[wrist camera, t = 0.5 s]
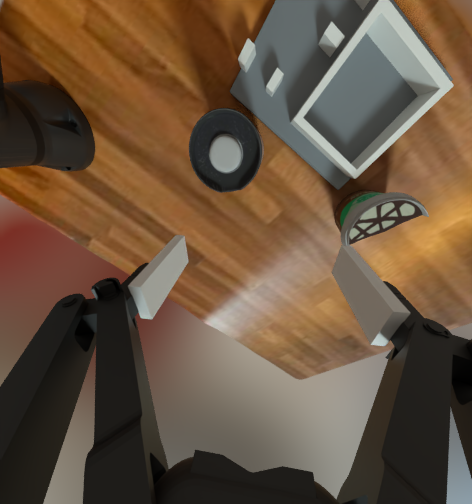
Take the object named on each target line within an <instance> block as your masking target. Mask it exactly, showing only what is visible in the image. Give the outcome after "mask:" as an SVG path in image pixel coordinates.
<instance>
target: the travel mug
mask: <svg viewBox="0 0 472 504" xmlns="http://www.w3.org/2000/svg"><path fill="white" fill-rule="evenodd" d="M263 154H264V145H263V141H262V138H261V135H260V134H259V132H258V130H257V129H256V127H255V126H254V124H253V123H252V122H251V121H250V120H249V119H248V118H247V117H246V116H245V115H244V114H242V113H240V112H239V111H236V110H234V109H229V108H219V109H215V110H212V111H210V112H208V113H206V114H205V115H204V116H202V117H201V119H200V120H199V121H198V122H197V123H196V125H195V127H194V129H193V131H192V134H191V137H190V142H189V156H190V161H191V164H192V167H193V169H194V171H195V173H196V175H197V176H198V178H199V179H200V180H201V181H202V182H203V183H204V184H205V185H206V186H208V187H209V188H211V189H213V190H215V191H217V192H221V193H222V192H231V191H236V190H241V189H243V188H245V187H246V186H247V185H248V184H249V183H250V182H251V181H252V180H253V178H254V177H255V175H256V174H257V172H258V169H259V167H260V164H261V162H262V159H263Z"/></svg>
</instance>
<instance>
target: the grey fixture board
mask: <svg viewBox="0 0 472 504" xmlns="http://www.w3.org/2000/svg"><path fill="white" fill-rule="evenodd" d="M378 1H379V0H370V1H369V3H368V4H367V5H366V7H365V8H364V10H362V9H361V8H360V6H359V5H358V4H357V3H356V1H355V0H276V1H275V3H274V5H273V7H272V9H271V11H270V13H269V15H268V17H267V19H266V21H265V23H264V24H263V26H262V28H261V30H260V32H259V34H258V36H257V38H256V40H255V42H254V44H255V49H256V56H255V58H254V60H253V61H252V63H251V65H250V67H249V69H248V71H247V73H246V72H245V71H244V70H243V69H242V68H241V70H240V72H239V74H238V76H237V78H236V80H235V82H234V84H233V86H232V88H231V90H230V93H231V94H232V95H233V96H234V97H235V98H236V99H237V100H239V101H240V102H241V103H242V104H243V105H244V106H245V107H246V108H247V109H248V110H250V111H251V112H252V113H253V114H254V115H255V116H256V117H257V118H258V119H260V120H261V121H262V122H263V123H264V124H265V125H266V126H267V127H268V128H269V129H271V130H272V131H273V132H274V133H275V134H276V135H277V136H278V137H279V138H281V139H282V140H283V141H284V142H285V143H286V144H287V145H288V146H289V147H290V148H292V149H293V150H294V151H295V152H296V153H297V154H298V155H299V156H300V157H302V158H303V159H304V160H305V161H306V162H307V163H308V164H309V165H310V166H311V167H313V168H314V169H315V170H316V171H317V172H318V173H319V174H320V175H321V176H323V177H324V178H325V179H326V180H327V181H328V182H329V183H330V184H331V185H332V186H334V187H335V188H336V189H337V190H339V189H340V188H341V187H342V186H343V185H344V184H345V183H346V182H347V181H348V180H349V179H350V178H351V177H349V176H346V175H345V174H344V173H343V172H342V171H341V170H340V169H339V168H338V167H337V166H336V165H334V164H333V163H332V162H331V161H330V160H329V159H328V158H327V157H326V156H325V155H324V154H323V153H322V152H321V151H320V150H319V149H317V148H316V147H315V146H314V145H313V144H312V143H311V142H310V141H309V140H308V139H307V138H306V137H305V136H304V135H303V134H302V133H300V132H299V131H298V130H297V129H296V128H295V127H294V126H293V125H292V124H291V123H290V122H291V121H292V120H293V118H294V117H295V115H296V114H297V113H298V111H299V110H300V108H301V107H302V106H303V104H304V103H305V101H306V100H307V99H308V97H309V96H310V94H311V93H312V92H313V90H314V89H315V87H316V86H317V85H318V83H319V82H320V80H321V79H322V78H323V76H324V75H325V73H326V72H327V71H328V69H329V68H330V66H331V65H332V64H333V62H334V61H335V59H336V58H337V57H338V55H339V54H340V52H341V51H342V50H343V48H344V47H345V45H346V44H347V43H348V41H349V40H350V38H351V37H352V36H353V34H354V33H355V31H356V30H357V29H358V27H359V26H360V24H361V23H362V22H363V20H364V19H365V17H366V16H367V15H368V13H369V12H370V11H371V10H372V8H373V7H374V6H375V4H376V3H377V2H378ZM389 1H390V2H391V3H392V5H393V6H394V7H395V8H396V10H397V11H398V12H399V14H400V15H401V16H402V18H403V19H404V20H405V22H406V23H407V24H408V26H409V27H410V28H411V30H412V31H413V32H414V34H415V35H416V36H417V38H418V39H419V40H420V41H421V43H422V44H423V45H424V47H425V48H426V49H427V51H428V52H429V53H430V55H431V56H432V57H433V59H434V60H435V61H436V63H437V64H438V65H439V67H440V68H441V69H442V71H443V72H444V73H445V75H446V76H447V77H448V78H449V80H450V81H452V80H453V79H452V77H451V76H450V75H449V73H448V72H447V71H446V69H445V68H444V67H443V65H442V64H441V63H440V61H439V60H438V59H437V57H436V56H435V55H434V53H433V52H432V51H431V49H430V48H429V47H428V45H427V44H426V43H425V41H424V40H423V39H422V37H421V36H420V35H419V33H418V32H417V31H416V29H415V28H414V27H413V25H412V24H411V23H410V22H409V20H408V19H407V18H406V16H405V15H404V14H403V12H402V11H401V10H400V8H399V7H398V6H397V4H396V3H395V2H394V0H389ZM331 22H333V23H334V24H335V26H336V27H337V28H338V29H339V30H340V31H341V33H342V34H343V35H344V36H345V37H344V39H343V40H342V41H341V43H340V44H339V46H338V47H337V49H336V50H335V51H334V53H333V54H332V55H331V57H329V56H328V55H327V54H326V53H325V52H324V51H323V50H322V49H321V47H320V46H319V45H318V44H319V42H320V40H321V38H322V36H323V34H324V32H325V31H326V29H327V28H328V26H329V25H330V23H331ZM277 68H278V69H279V70H280V71H281V72H282V73H283V74H284V75H283V79H282V82H281V83H280V85H279V86H278V88H277V90H276V91H275V93H274V94H273V96H272V97H271V96H270V95H269V94H268V93H267V92H266V86H267V84H268V82H269V81H270V79H271V77H272V76H273V74H274V72H275V71H276V69H277ZM417 96H418V95H417V94H416V93H415V92H414V90H413V89H412V88H411V87H410V85H409V84H408V83H407V82H406V81H405V79H404V78H403V77H402V76H401V75H400V73H399V72H398V71H397V70H396V68H395V67H394V66H393V65H392V64H391V62H390V61H389V60H388V59H387V58H386V56H385V55H384V54H383V53H382V51H381V50H380V49H379V48H378V47H377V45H376V44H375V43H374V42H373V41H372V39H371V38H370V37H369V36H368V34H367V33H365V35H364V36H363V37H362V39H361V40H360V42H359V43H358V44H357V46H356V47H355V48H354V50H353V51H352V52H351V54H350V55H349V56H348V58H347V59H346V60H345V62H344V63H343V65H342V66H341V67H340V69H339V70H338V71H337V73H336V74H335V75H334V77H333V78H332V79H331V81H330V82H329V83H328V85H327V86H326V88H325V89H324V90H323V92H322V93H321V94H320V96H319V97H318V98H317V100H316V101H315V102H314V104H313V105H312V106H311V108H310V109H309V110H308V112H307V113H306V115H305V116H304V117H303V118H304V119H305V120H306V121H307V122H308V123H309V124H310V125H311V126H312V127H313V128H314V129H315V130H316V131H317V132H318V133H319V134H321V135H322V136H323V137H324V138H325V139H326V140H327V141H328V142H329V143H330V144H331V145H332V146H333V147H334V148H335V149H336V150H337V151H338V152H339V153H340V154H341V155H342V156H343V157H344V158H345V159H346V160H347V161H348V162H349V163H350V164H351V163H352V162H353V161H354V160H355V159H356V158H357V157H358V156H359V155H360V154H361V153H362V152H363V151H364V150H365V149H366V148H367V147H368V146H369V145H370V144H371V143H372V142H373V141H374V140H375V139H376V138H377V137H378V136H379V135H380V134H381V133H382V132H383V131H384V130H385V129H386V128H387V127H388V126H389V125H390V124H391V123H392V122H393V121H394V120H395V119H396V118H397V117H398V116H399V115H400V114H401V113H402V111H403V110H404V109H405V108H406V107H407V106H408V105H409V104H410V103H411V102H412V101H413V100H414V99H415V98H416V97H417Z"/></svg>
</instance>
